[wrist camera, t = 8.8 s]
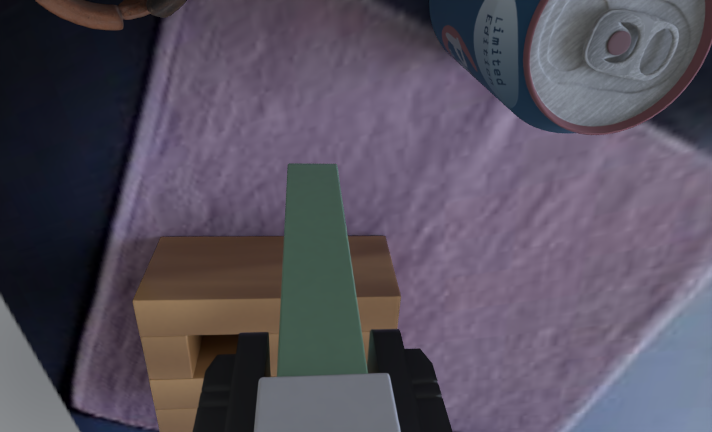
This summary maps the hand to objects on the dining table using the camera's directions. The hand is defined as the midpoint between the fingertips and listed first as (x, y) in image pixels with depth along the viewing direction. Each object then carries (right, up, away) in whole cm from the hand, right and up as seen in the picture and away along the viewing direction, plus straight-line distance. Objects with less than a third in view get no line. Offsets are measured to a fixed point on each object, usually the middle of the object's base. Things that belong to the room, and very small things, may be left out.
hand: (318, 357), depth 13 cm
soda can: (+8, +15, +12) cm, 21 cm away
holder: (-4, -3, +22) cm, 22 cm away
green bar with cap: (-1, +5, +8) cm, 10 cm away
